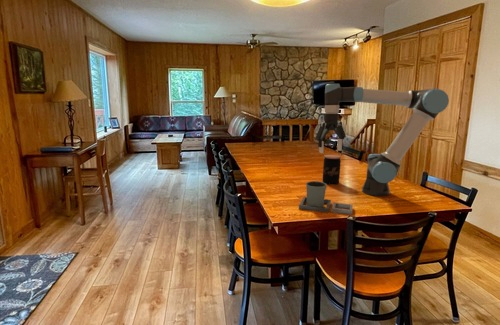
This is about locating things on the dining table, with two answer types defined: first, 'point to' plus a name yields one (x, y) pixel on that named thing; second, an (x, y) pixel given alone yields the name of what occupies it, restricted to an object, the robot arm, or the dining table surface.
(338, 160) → the coffee jar
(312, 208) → the square hollow frame
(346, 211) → the grey diamond-shaped open frame
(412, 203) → the dining table surface
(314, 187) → the grey cup
